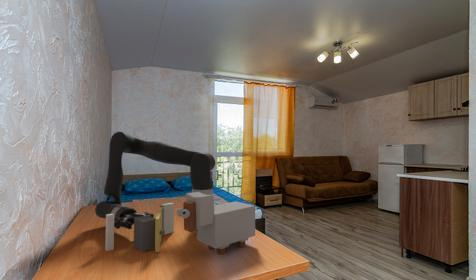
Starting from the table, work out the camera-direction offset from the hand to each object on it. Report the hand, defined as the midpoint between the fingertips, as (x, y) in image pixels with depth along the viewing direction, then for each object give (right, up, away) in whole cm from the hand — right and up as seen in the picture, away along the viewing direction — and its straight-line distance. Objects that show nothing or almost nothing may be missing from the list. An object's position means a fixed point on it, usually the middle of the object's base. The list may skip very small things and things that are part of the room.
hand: (142, 223), depth 89 cm
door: (+7, -7, 0) cm, 10 cm away
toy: (+28, -7, -6) cm, 29 cm away
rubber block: (+2, -7, -3) cm, 8 cm away
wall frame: (-1, -8, +4) cm, 9 cm away
